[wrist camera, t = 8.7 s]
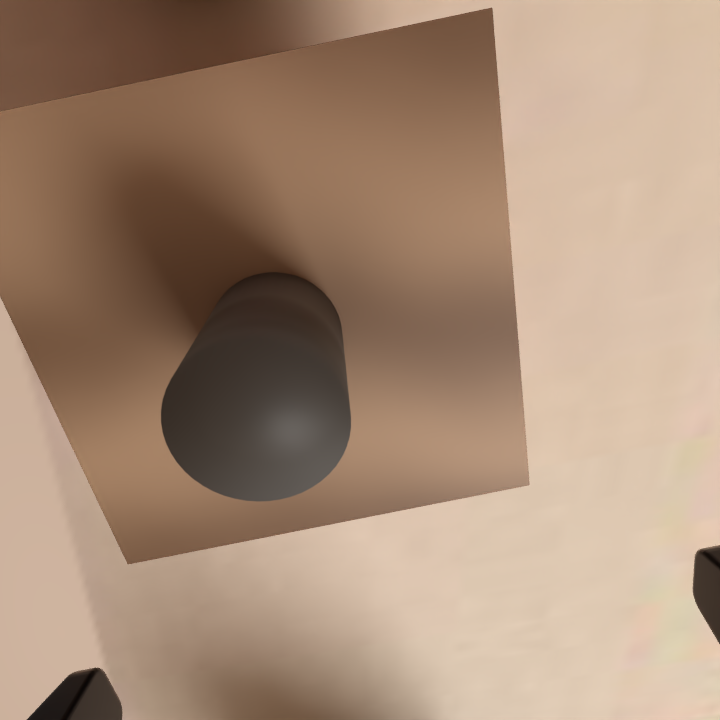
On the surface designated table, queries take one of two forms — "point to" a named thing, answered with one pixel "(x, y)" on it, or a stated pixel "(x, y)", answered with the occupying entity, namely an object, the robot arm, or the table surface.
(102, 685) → the robot arm
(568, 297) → the table surface
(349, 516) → the lid
